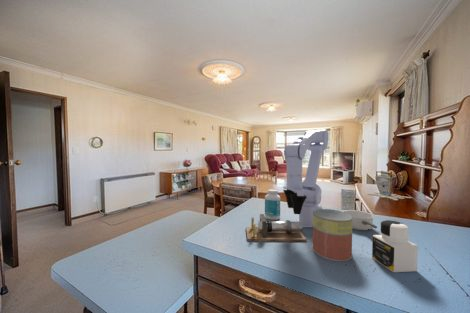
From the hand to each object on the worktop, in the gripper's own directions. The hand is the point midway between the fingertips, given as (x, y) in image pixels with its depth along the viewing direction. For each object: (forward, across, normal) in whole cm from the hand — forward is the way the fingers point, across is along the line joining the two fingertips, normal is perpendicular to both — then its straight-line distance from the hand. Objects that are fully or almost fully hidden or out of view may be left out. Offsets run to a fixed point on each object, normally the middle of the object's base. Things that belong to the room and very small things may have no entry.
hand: (293, 210), depth 73 cm
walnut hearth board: (+9, 0, -8) cm, 12 cm away
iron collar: (+9, 0, -12) cm, 15 cm away
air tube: (+9, 0, -6) cm, 11 cm away
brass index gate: (+9, 0, -16) cm, 18 cm away
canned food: (+10, +12, +8) cm, 18 cm away
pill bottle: (+10, -19, -4) cm, 22 cm away
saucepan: (+10, -5, +30) cm, 31 cm away
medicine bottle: (+10, +19, +22) cm, 31 cm away
